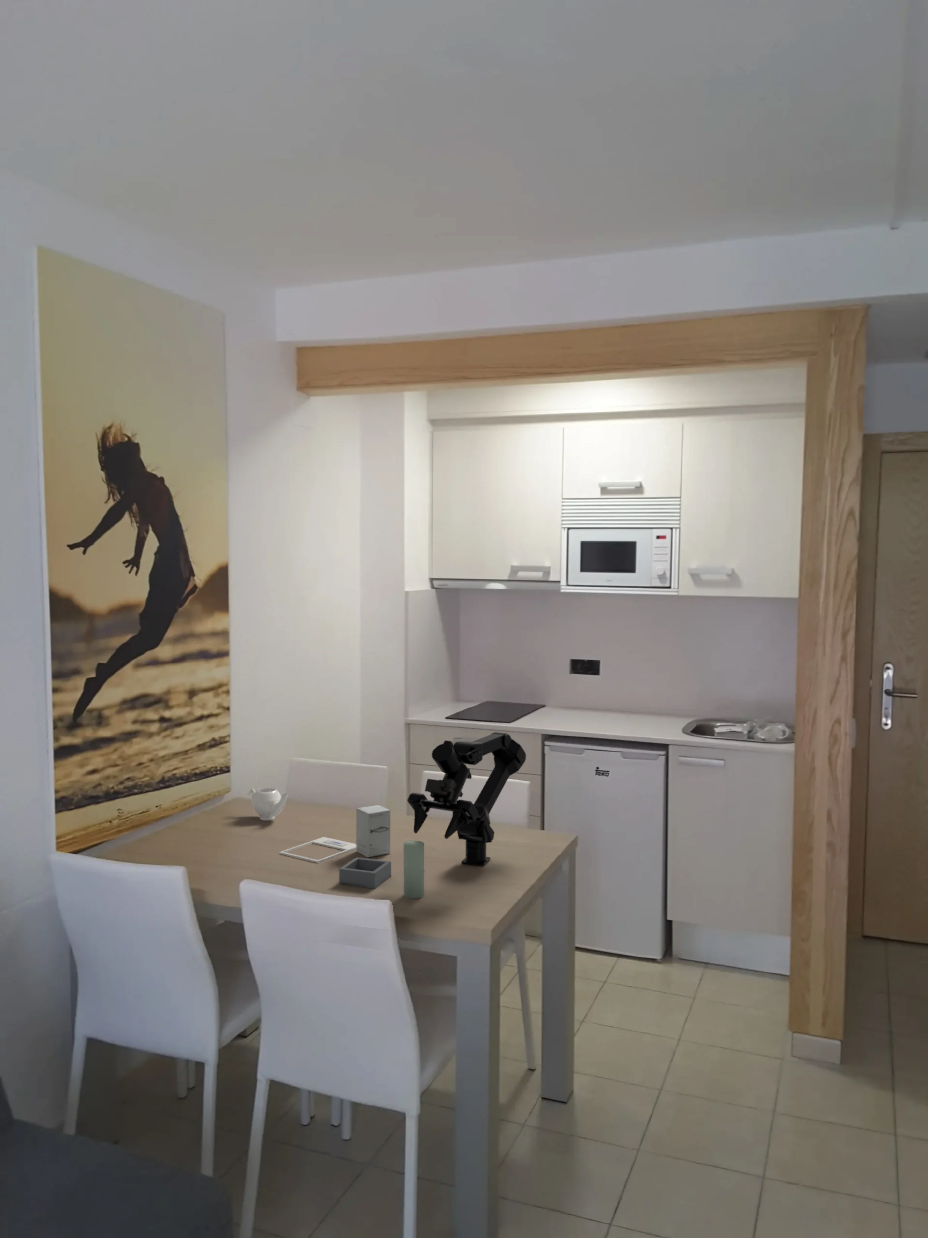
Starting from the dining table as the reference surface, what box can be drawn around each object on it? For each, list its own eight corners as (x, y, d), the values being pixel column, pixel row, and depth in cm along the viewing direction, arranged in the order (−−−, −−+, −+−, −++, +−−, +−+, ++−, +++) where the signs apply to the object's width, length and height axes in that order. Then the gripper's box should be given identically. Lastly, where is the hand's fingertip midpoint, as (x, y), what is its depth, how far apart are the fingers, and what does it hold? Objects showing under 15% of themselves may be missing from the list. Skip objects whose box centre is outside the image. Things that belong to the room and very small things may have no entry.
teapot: (260, 810, 319) (259, 782, 319) (298, 821, 306) (298, 792, 306) (235, 816, 312) (235, 787, 312) (274, 827, 299) (274, 797, 299)
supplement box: (367, 858, 269) (367, 813, 268) (355, 851, 275) (355, 807, 274) (391, 854, 273) (391, 809, 272) (378, 847, 279) (378, 804, 278)
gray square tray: (356, 872, 257) (356, 857, 257) (391, 876, 254) (391, 861, 253) (339, 884, 247) (339, 868, 247) (375, 888, 244) (374, 873, 244)
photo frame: (361, 844, 279) (317, 860, 264) (361, 848, 279) (317, 864, 265) (323, 836, 288) (279, 851, 273) (323, 840, 288) (279, 855, 273)
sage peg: (408, 890, 243) (408, 839, 242) (427, 893, 241) (426, 841, 240) (400, 897, 238) (400, 845, 237) (419, 899, 236) (419, 847, 235)
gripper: (410, 762, 253) (386, 813, 245) (472, 770, 244) (449, 823, 235) (427, 785, 261) (404, 836, 252) (487, 794, 251) (466, 847, 242)
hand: (430, 835), depth 245 cm, fingers open, 9 cm apart
